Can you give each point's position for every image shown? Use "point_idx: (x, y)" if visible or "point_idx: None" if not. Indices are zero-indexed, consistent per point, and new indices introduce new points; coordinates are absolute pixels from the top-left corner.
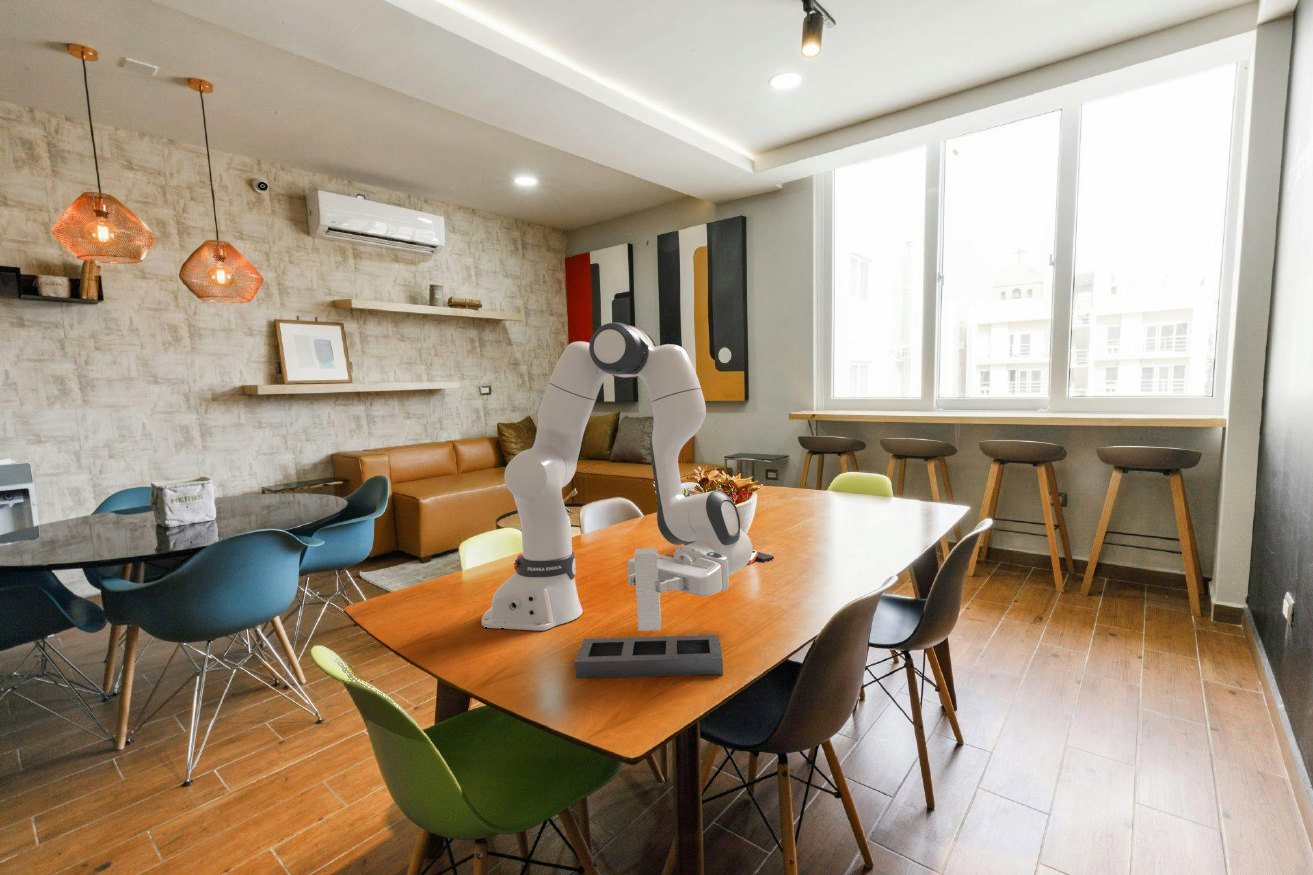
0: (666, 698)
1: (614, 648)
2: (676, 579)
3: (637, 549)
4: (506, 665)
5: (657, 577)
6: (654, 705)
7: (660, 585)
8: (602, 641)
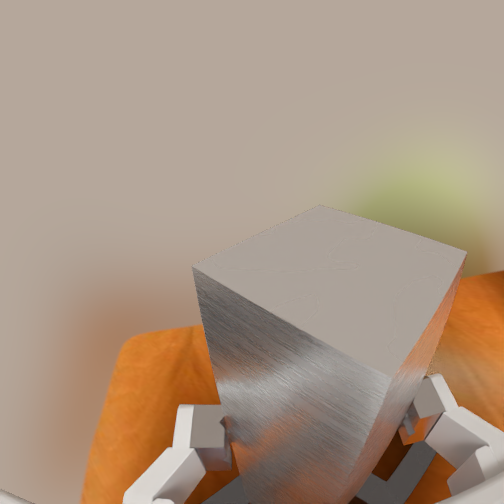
0: (159, 444)
1: (396, 468)
2: (135, 486)
3: (440, 250)
4: (455, 326)
5: (220, 401)
6: (164, 418)
7: (185, 404)
8: (421, 441)
